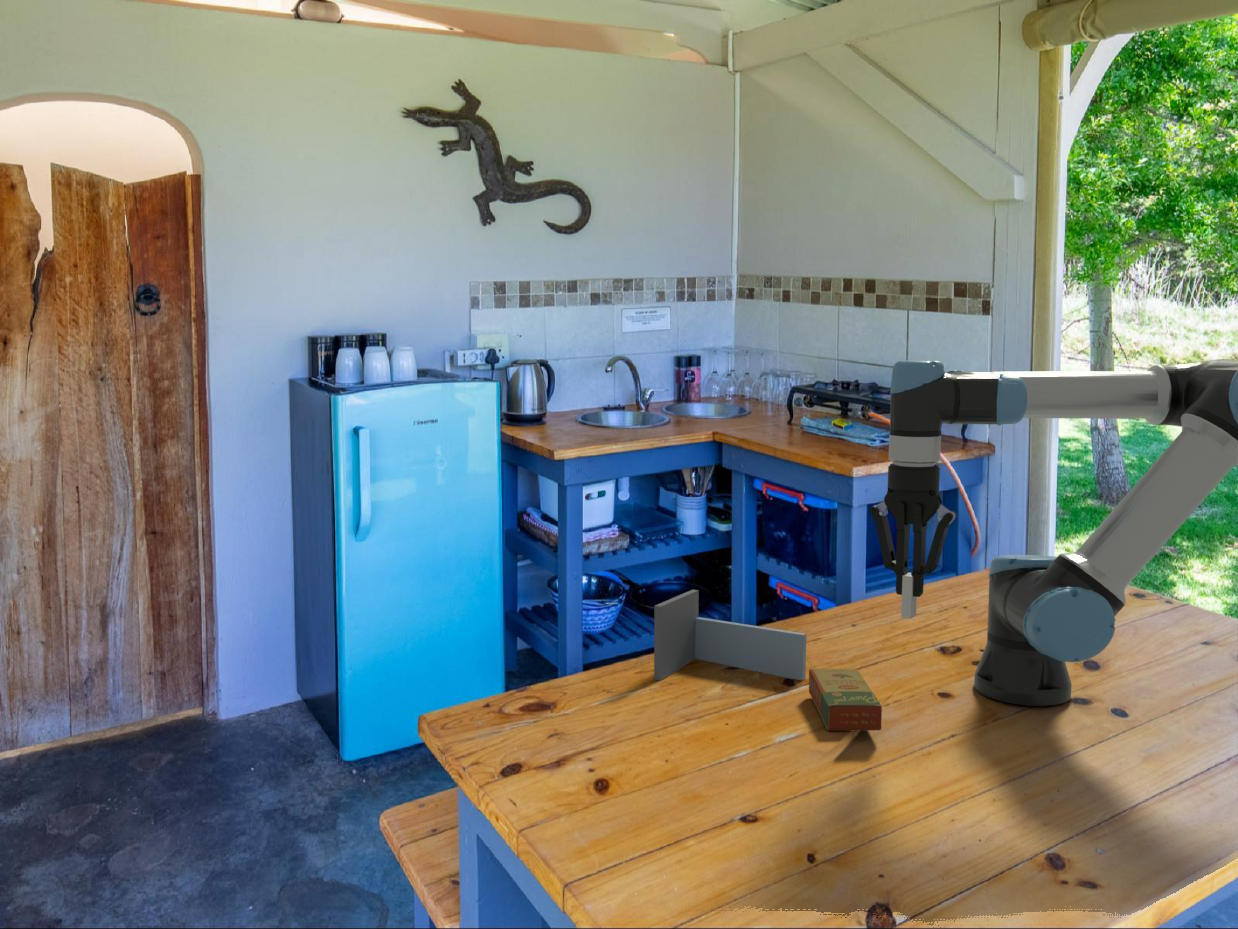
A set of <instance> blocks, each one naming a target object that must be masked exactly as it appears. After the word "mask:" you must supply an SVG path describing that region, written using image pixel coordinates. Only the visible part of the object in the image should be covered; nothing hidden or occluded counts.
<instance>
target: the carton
mask: <svg viewBox="0 0 1238 929" xmlns="http://www.w3.org/2000/svg"><path fill="white" fill-rule="evenodd" d="M808 692H809V694H810V698H811V699H812V701H813V703H814V705H815V707H816V710H817V712H818V713H819V717H820V718H821V720H822V723H824V727H825V729H826V731H829V732H831V731H842V732H843V731H846V732H847V731H850V732H851V731H853V732H855V731H858V732H859V731H860V732H861V731H881V730H882V720H883V719H882V717H883V716H882V715H883V713H882V712H883V711H882V710H883V706H882V704H881V703H880V701H879V700H878V698H877V697H876V695H875V694H874V692H873V690H872V689H871V687H870V686H869V684H868V683H867V681H866V680H865V679H864V677H863V676H862V674H861V672H860V671H859V669H856V668H810V669H808Z"/></svg>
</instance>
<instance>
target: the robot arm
mask: <svg viewBox="0 0 1238 929" xmlns="http://www.w3.org/2000/svg"><path fill="white" fill-rule="evenodd" d="M889 394H890V402H889V403H890V407H889V409H890V411H889V415H890V416H889V439H888V460H889V461H890V462H891V463H890V464H889V465H888V466H887V468H888V469H887V491H886V494H885V495H884V498H883V501H882V502H879V503H878V504H874V505H873V506H870V507H869V509H868V512H869V513H870V515H871V517H872V519H873V520H874V522H875V527H876V532H877V535H878V536H877V537H878V542H879V547H880V551H881V558H882V561H883V566H884V568H885V569H887V570H890V571H892V572H894V573H895V576H896V577H895V592H896V595H901V610H900V611H901V612H900V614H901V615H900V618H901V619H907V620H908V619H909V620H911V619H913V618H914V617H916V616H917V598H920V597H921V596H923V593H924V583H925V582H924V581H925V580H924V579H925V575H930V574H931V573H934V572H935V571H936V570H937V569H938V566H939V563H940V558H941V556H942V552H943V549H944V545H945V541H946V538H947V535H948V532H949V528H950V526H951V524H952V523H953V521H955V519H956V518H957V515H958V514H957V512H956V511H954V510H949V509H948V508H947V507H946V506H944V505H943V500H942V498H941V496H940V478H941V475H940V474H941V467H940V466H939V465H938V463H939V462H940V461H941V447H942V445H941V444H942V426H943V425H945V424H946V425H955V424H956V425H957V424H958V425H997V426H1001V425H1015V424H1019V422H1021V421H1022V420H1023V419H1116V420H1117V419H1118V420H1119V419H1124V420H1126V419H1127V420H1129V419H1131V420H1132V419H1136V420H1137V419H1138V420H1140V419H1141V420H1142V419H1145V420H1146V422H1147V423H1148V424H1150V425H1153V426H1160V425H1161V426H1162V425H1163V426H1174V427H1181V432H1180V433H1179V434H1178V435H1177V437H1176V438H1175V439H1173V441H1172V442H1171V443H1170V445H1168V446H1167V448H1166V449H1165V450H1164V451H1163V452H1162V454H1161V455H1160V456H1159V457H1158V458H1157V459H1156V461H1154V463H1152V465H1151V466H1150V468H1148V470H1147V471H1146V472H1145V473H1144V474H1143V475H1142V476H1141V478H1139V480H1137V481H1136V483H1135V484H1134V485H1133V486H1132V488H1131V489H1130V490H1129V491H1128V492H1127V494H1125V496H1124V497H1123V498H1122V499H1121V500H1120V501H1119V503H1118V504H1116V506H1115V507H1114V508H1113V509H1112V510H1111V511H1110V513H1108V515H1107V516H1106V517H1105V518H1104V520H1103V521H1102V522H1101V523H1100V524H1099V526H1097V527H1096V529H1094V531H1093V532H1092V533H1091V534H1090V535H1089V537H1088V538H1087V539H1086V540H1085V541H1084V542H1083V544H1081V545H1080V547H1079V548H1078V549H1077V550H1076V551H1073V552H1067V553H1066V552H1065V553H1060V554H1059V555H1058V556H1052V555H1036V554H1035V555H1034V554H1005V555H1004V554H1003V555H997V556H995V557H993V558H992V560H991V562H990V570H989V573H988V575H987V576H988V578H989V579H988V580H989V581H988V604H987V605H988V606H987V610H988V611H987V633H986V634H987V635H986V636H987V637H986V645H985V647H984V649H983V652H982V655H981V657H980V660H979V662H978V664H977V668H976V670H975V671H974V684H973V685H974V686H973V687H974V689H975V690H976V692H978V693H979V694H981V695H982V696H985V697H987V698H990V699H992V700H996V701H1000V702H1004V703H1009V704H1014V705H1021V706H1022V705H1024V706H1031V707H1033V706H1035V707H1036V706H1037V707H1039V706H1041V707H1042V706H1043V707H1045V706H1056V705H1060V704H1061V705H1062V704H1065V703H1066V702H1068V701H1070V700H1071V697H1072V687H1073V686H1072V680H1071V677H1070V674H1069V670H1068V668H1067V663H1079V662H1083V661H1087V660H1090V659H1092V658H1094V657H1096V656H1097V655H1099V654H1101V653H1102V652H1103V651H1104V650H1105V649H1106V648H1107V647H1108V646H1109V644H1110V643H1111V641H1112V639H1113V637H1114V635H1115V630H1116V628H1115V622H1116V616H1117V615H1118V614H1119V612H1121V610H1122V609H1123V607H1125V605H1126V604H1127V602H1126V601H1127V600H1126V599H1127V598H1126V593H1125V590H1126V589H1127V587H1128V586H1129V584H1130V583H1131V582H1132V581H1133V580H1134V579H1135V578H1136V577H1137V575H1138V574H1140V573H1141V571H1142V570H1143V569H1144V568H1145V566H1147V564H1148V563H1149V562H1150V561H1151V560H1152V559H1153V558H1154V557H1155V556H1156V554H1157V553H1158V552H1159V551H1160V550H1161V549H1162V547H1163V546H1165V544H1166V543H1167V542H1168V541H1169V540H1170V538H1171V537H1173V535H1174V534H1175V533H1176V532H1177V531H1178V530H1179V529H1180V528H1181V526H1182V525H1183V524H1184V523H1185V522H1186V520H1187V519H1188V518H1189V517H1190V516H1191V515H1192V514H1193V513H1194V512H1195V510H1196V509H1198V507H1199V506H1200V505H1201V504H1202V503H1203V502H1204V501H1205V500H1206V498H1207V497H1208V496H1209V495H1210V494H1211V492H1212V491H1213V490H1214V489H1215V488H1216V487H1217V486H1218V484H1220V482H1222V481H1223V479H1224V478H1225V477H1226V476H1227V475H1228V474H1229V473H1230V471H1231V470H1233V468H1234V467H1238V359H1225V358H1223V359H1218V358H1217V359H1211V360H1210V359H1209V360H1202V361H1196V362H1188V363H1178V364H1163V365H1162V364H1155V365H1152V366H1150V367H1149V368H1148V369H1147V370H1146V371H1145V370H1144V371H1142V370H1141V371H1140V370H1139V371H1135V370H1133V371H1125V370H1124V371H1121V370H1120V371H1114V370H1113V371H962V370H948V371H946V370H945V367H944V362H942V361H940V360H899V361H897V362H895V364H894V365H893V367H892V371H891V381H890V389H889ZM888 511H889V512H890V514H891V515H892V517H893V518H894V520H895V522H896V523H895V530H896V544H895V546H896V550H895V548H894V542H893V537H892V532H891V528H890V523H889V518H888V516H887V515H888V514H889V512H888ZM936 514H937V518H936V519H937V520H936V521H937V522H938V523H937V526H936V528H935V532H934V535H933V538H932V541H931V546H930V549H929V552H928V553H929V554H928V555H927V559H926V554H927V553H926V551H927V549H926V548H927V529H928V525H929V524H928V523H929V522H930V521H931V520H932V519H933V517H934V516H935V515H936ZM911 525H912V532H913V544H912V545H913V546H912V547H913V548H912V549H913V550H912V570H911V572H908V571H909V570H910V567H909V553H910V552H909V550H910V529H911Z"/></svg>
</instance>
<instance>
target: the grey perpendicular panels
mask: <svg viewBox="0 0 1238 929" xmlns="http://www.w3.org/2000/svg"><path fill="white" fill-rule="evenodd" d="M699 593H700V592H699V590H698V589H691V590H689V591H686V592H683V593H681V594H679V595H676V596H674V597H671V598H670V599H668V600H665V601H662V602H661V603H658V604H655V605H654V610H653V611H654V615H653V617H654V618H653V619H654V623H653V624H654V628H653V630H654V632H653V634H654V636H653V637H654V639H653V640H654V642H653V643H654V644H653V649H654V650H653V651H654V652H653V654H654V655H653V656H654V657H653V658H654V664H653V666H654V667H653V668H654V669H653V680H655V681H659V682H660V681H662V680H664V679H666V678H668V677H669V676H671V675H674V674H675V673H677V672H678V671H680V670H681V669H683V668H684V667H685V666H687V665H689V664H690V663H692V661H694V660H699V661H704V662H709V663H712V664H713V663H714V664H719V665H723V664H724V665H723V666H728V665H729V666H728V667H731V668H732V667H734V668H737V667H738V669H742V668H743V669H744V670H747V671H753V672H756V671H758V672H757V673H761V672H762V674H766V675H770V674H773V675H772V676H775V675H776V676H775V677H780V678H786V679H791V680H792V679H793V680H795V681H796V680H798V681H804V680H805V679H806V674H807V673H806V670H807V669H806V668H807V667H806V663H807V633H803V632H797V631H791V630H787V629H786V630H784V629H780V628H779V629H778V628H771V627H765V626H760V625H759V626H758V625H753V624H752V625H751V624H747V623H746V624H745V623H740V622H732V621H725V620H719V619H712V618H706V617H700V616H699V606H700V605H699V602H700V601H699V598H700V596H699Z"/></svg>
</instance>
